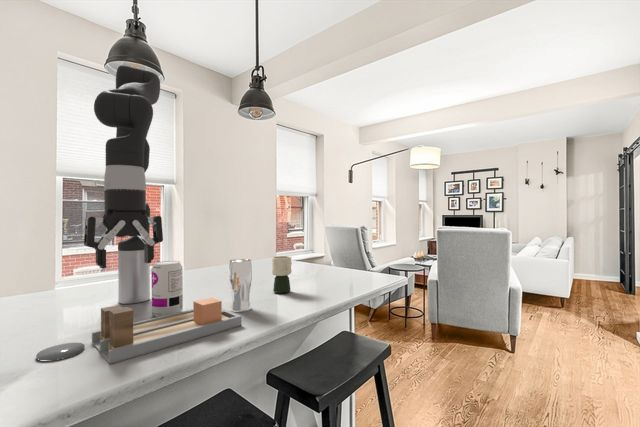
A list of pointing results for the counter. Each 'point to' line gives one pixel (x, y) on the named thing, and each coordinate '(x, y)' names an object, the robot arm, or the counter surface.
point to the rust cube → (207, 311)
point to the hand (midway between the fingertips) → (126, 265)
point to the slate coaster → (60, 351)
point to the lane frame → (165, 340)
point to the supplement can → (167, 288)
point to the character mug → (281, 273)
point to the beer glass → (240, 284)
